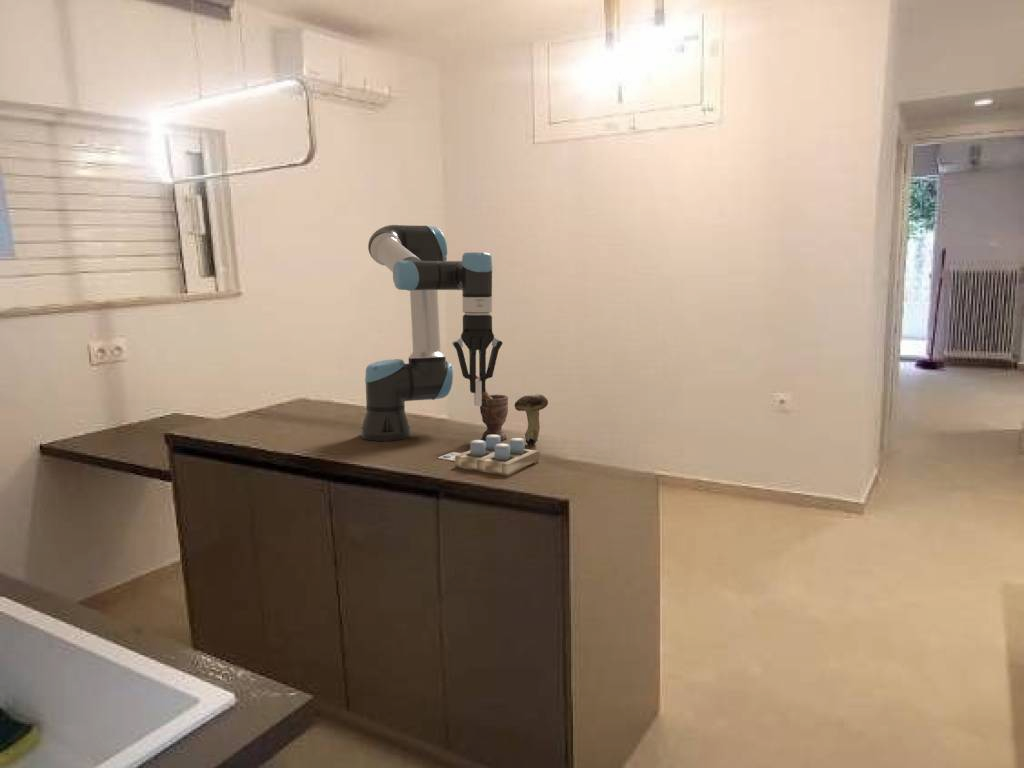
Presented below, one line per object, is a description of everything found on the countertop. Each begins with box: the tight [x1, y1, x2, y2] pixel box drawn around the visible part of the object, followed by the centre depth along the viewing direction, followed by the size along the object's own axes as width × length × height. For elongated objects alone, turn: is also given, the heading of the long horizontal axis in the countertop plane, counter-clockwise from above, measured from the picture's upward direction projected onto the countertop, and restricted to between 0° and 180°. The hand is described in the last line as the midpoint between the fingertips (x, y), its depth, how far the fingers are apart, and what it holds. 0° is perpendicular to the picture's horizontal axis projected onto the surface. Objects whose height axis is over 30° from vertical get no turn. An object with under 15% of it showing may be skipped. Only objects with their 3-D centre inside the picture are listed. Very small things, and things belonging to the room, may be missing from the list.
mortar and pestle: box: [476, 375, 509, 441], centre depth 216 cm, size 12×9×20 cm
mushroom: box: [514, 393, 549, 446], centre depth 210 cm, size 9×9×15 cm
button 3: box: [494, 443, 510, 461], centre depth 184 cm, size 4×4×4 cm
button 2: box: [485, 435, 502, 451], centre depth 194 cm, size 4×4×4 cm
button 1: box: [469, 439, 486, 457], centre depth 188 cm, size 4×4×4 cm
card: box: [437, 451, 463, 462], centre depth 196 cm, size 7×7×1 cm
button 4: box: [509, 437, 526, 455], centre depth 190 cm, size 4×4×4 cm
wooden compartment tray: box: [454, 448, 540, 477], centre depth 189 cm, size 16×16×3 cm
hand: (477, 405), depth 186 cm, fingers closed
